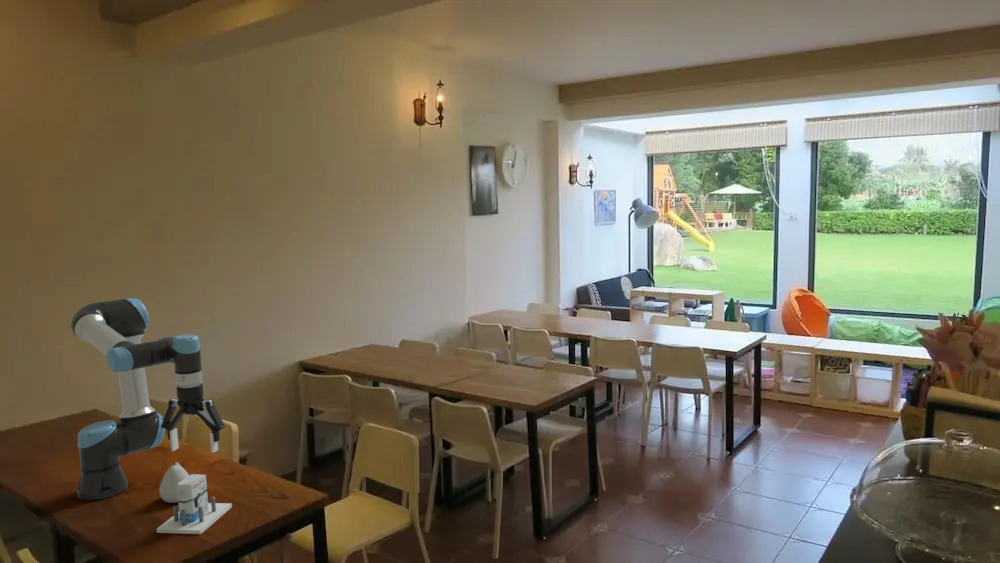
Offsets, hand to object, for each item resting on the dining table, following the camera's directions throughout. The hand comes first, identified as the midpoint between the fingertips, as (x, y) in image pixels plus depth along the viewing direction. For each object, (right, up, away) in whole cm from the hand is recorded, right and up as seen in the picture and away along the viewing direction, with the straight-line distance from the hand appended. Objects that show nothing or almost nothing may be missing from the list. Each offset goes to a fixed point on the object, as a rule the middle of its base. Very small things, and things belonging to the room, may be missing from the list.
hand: (194, 450), depth 218 cm
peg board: (+2, -21, -3) cm, 21 cm away
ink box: (+2, -20, -3) cm, 20 cm away
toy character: (-11, -19, +12) cm, 26 cm away
